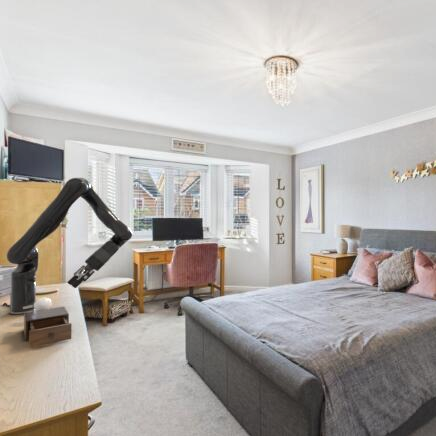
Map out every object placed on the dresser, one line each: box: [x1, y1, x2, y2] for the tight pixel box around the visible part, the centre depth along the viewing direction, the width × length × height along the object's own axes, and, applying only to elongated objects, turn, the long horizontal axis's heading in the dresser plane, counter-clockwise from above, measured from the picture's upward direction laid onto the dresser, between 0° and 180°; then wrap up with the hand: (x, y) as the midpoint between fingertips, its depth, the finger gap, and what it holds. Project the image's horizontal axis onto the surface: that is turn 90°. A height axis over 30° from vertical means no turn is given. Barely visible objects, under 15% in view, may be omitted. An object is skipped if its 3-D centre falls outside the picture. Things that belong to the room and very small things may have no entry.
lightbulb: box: [34, 296, 53, 311], centre depth 141 cm, size 6×6×11 cm
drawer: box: [28, 317, 72, 349], centre depth 120 cm, size 14×12×6 cm
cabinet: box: [23, 306, 70, 341], centre depth 130 cm, size 14×14×8 cm
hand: (71, 285), depth 149 cm, fingers open, 8 cm apart
